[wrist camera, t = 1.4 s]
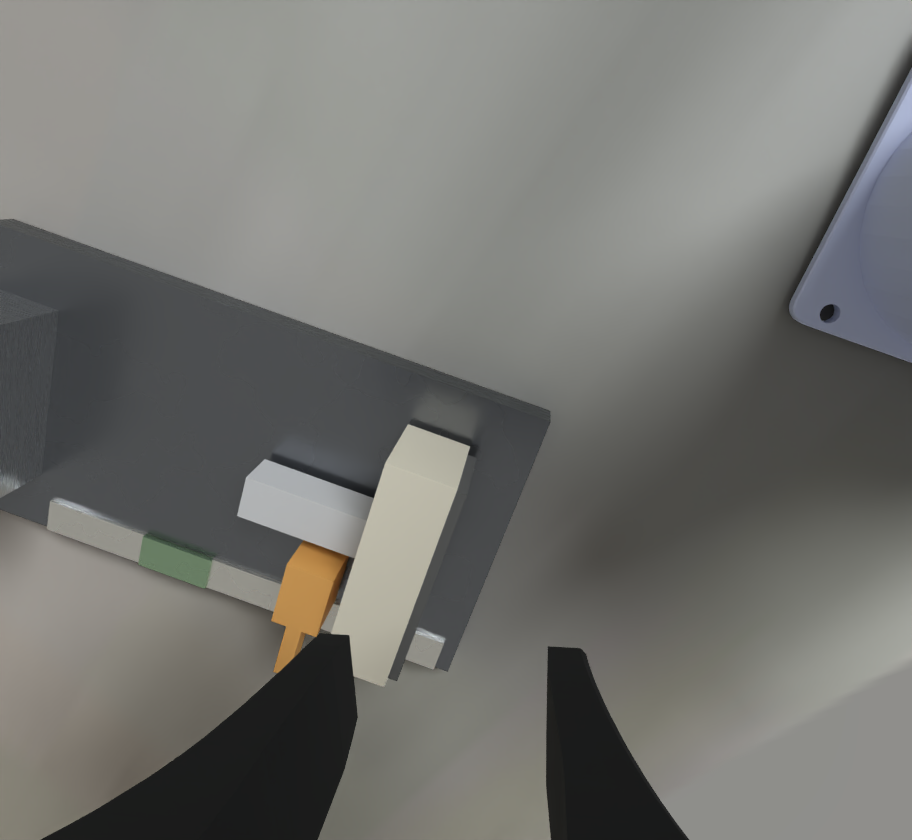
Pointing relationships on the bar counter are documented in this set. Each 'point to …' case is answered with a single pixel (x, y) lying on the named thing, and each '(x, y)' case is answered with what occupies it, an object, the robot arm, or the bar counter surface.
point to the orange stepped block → (306, 596)
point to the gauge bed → (222, 425)
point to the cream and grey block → (375, 538)
